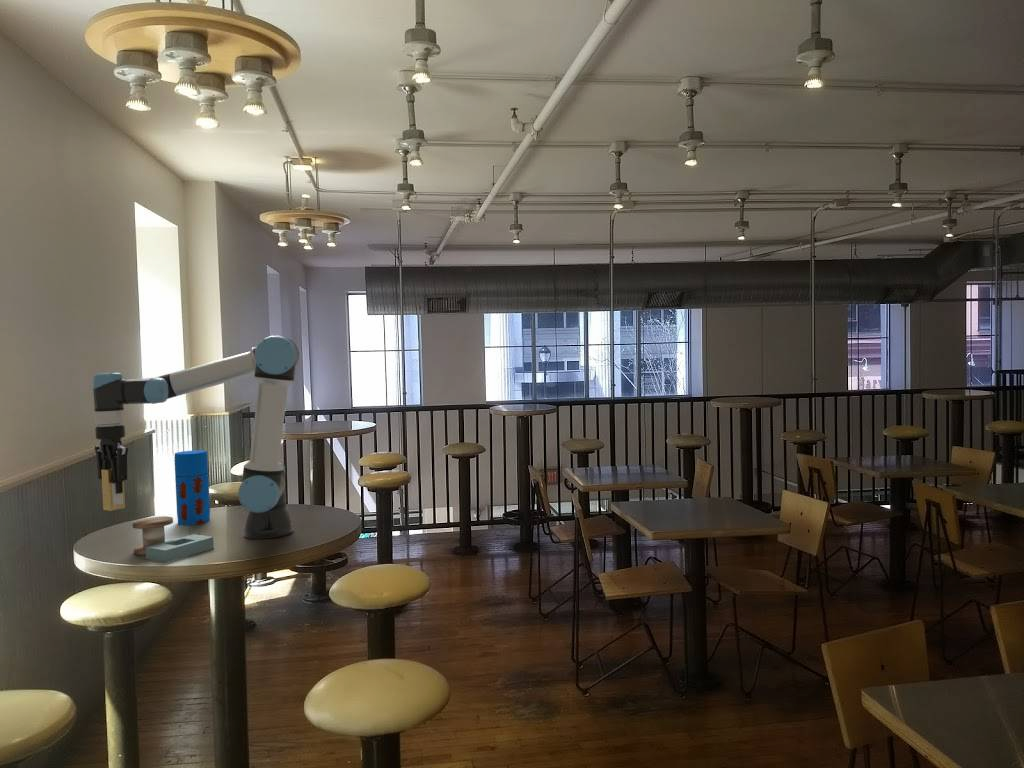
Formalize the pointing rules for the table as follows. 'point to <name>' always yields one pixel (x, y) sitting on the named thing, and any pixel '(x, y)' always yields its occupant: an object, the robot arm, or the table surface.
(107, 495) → the tab
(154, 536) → the spool
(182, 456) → the thermos
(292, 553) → the table surface
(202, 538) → the notch board
